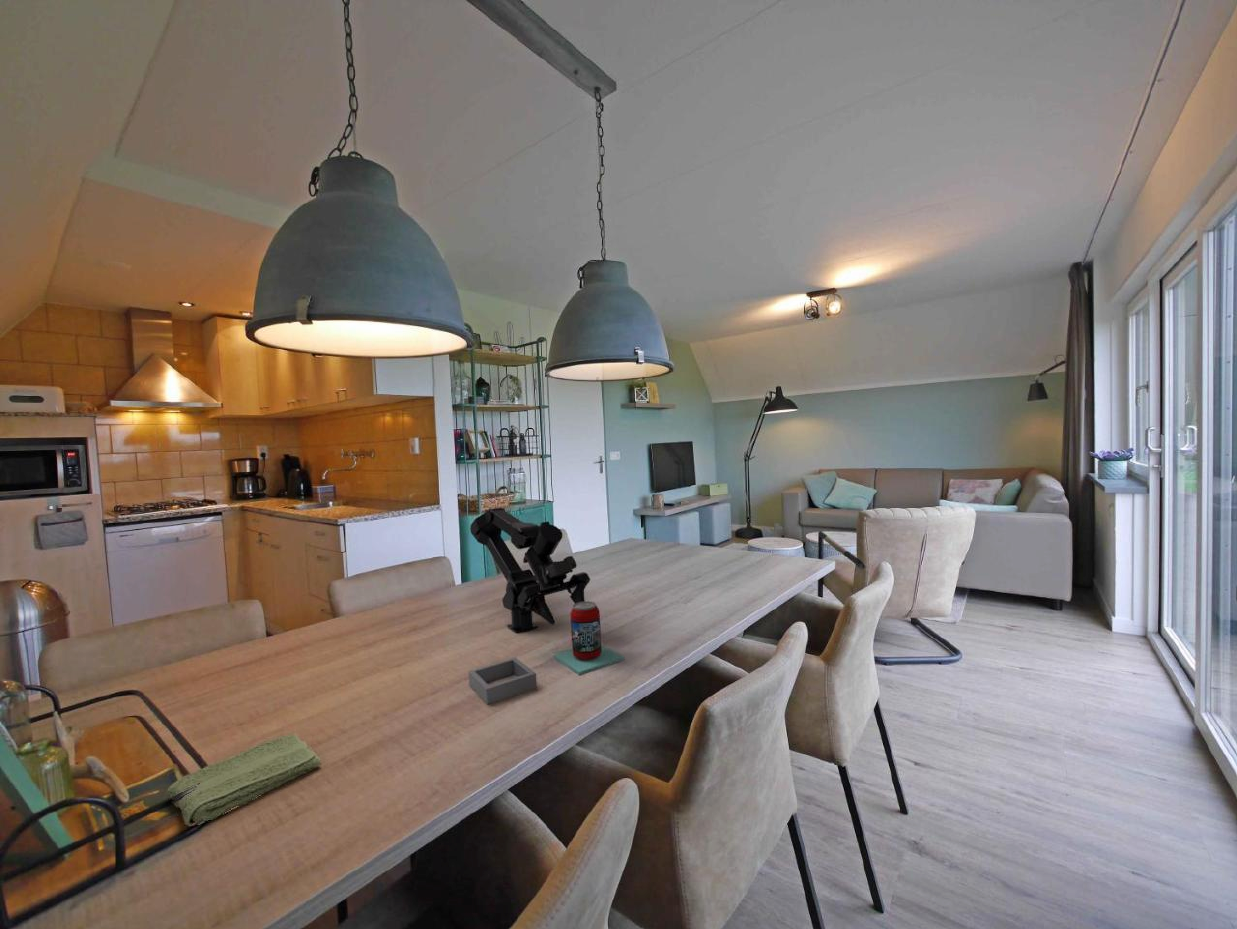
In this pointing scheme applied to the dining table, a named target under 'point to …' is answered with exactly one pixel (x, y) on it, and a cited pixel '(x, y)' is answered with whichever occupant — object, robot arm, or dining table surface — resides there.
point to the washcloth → (242, 777)
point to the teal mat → (588, 665)
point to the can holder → (505, 688)
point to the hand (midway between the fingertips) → (569, 618)
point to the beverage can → (586, 630)
